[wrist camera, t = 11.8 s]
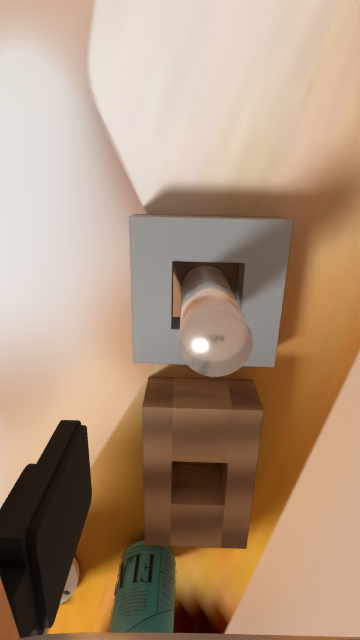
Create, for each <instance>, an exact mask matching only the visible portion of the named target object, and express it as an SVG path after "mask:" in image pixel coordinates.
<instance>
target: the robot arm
mask: <svg viewBox="0 0 360 640" xmlns="http://www.w3.org/2000/svg"><path fill="white" fill-rule="evenodd" d="M91 497H92V488H91V475H90V463H89V449H88V437H87V427H86V426H85V425H84V426H83V425H81V422H80V421H78V420H61V421H60V423H59V424H58V426H57V428H56V430H55V431H54V433H53V435H52V437H51V439H50V440H49V442H48V444H47V446H46V448H45V449H44V451H43V453H42V455H41V457H40V458H39V460H38V462H37V464H29V465H27V466H26V467H25V469H24V470H23V472H22V473H21V475H20V477H19V478H18V480H17V482H16V483H15V485H14V487H13V488H12V490H11V492H10V493H9V495H8V497H7V499H6V500H5V502H4V503H3V505H2V507H1V509H0V640H360V637H325V636H285V635H244V634H243V635H242V634H192V633H63V634H49V631H50V628H51V627H52V625H53V623H54V621H55V618H56V614H57V611H58V608H59V605H60V604H61V603H63V602H64V601H66V600H67V599H68V598H70V597H71V596H72V594H73V593H74V591H75V590H76V587H77V584H78V580H79V575H80V571H79V566H78V563H77V560H76V559H75V557H74V556H75V552H76V549H77V546H78V543H79V539H80V536H81V533H82V530H83V526H84V523H85V520H86V517H87V513H88V510H89V507H90V503H91Z"/></svg>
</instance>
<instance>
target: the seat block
mask: <svg viewBox="0 0 360 640" xmlns="http://www.w3.org/2000/svg"><path fill="white" fill-rule="evenodd" d="M129 226H130V227H129V231H130V268H131V303H132V304H131V305H132V338H133V339H132V342H133V363H149V364H180V365H187V364H186V363H185V361H184V360H183V358H182V356H181V353H180V348H179V338H180V319H181V317H173V316H172V315H173V261H189V262H227V263H239V272H238V284H237V297H236V301H237V303H238V305H239V307H240V309H241V312H242V314H243V316H244V318H245V320H246V322H247V324H248V326H249V329H250V331H251V334H252V339H253V346H252V351H251V354H250V356H249V358H248V360H247V361H246V363H245V364H244V365H243V366H250V367H274V364H275V357H276V349H277V342H278V334H279V326H280V319H281V311H282V303H283V296H284V288H285V280H286V273H287V265H288V257H289V250H290V242H291V234H292V227H293V220H290V219H285V218H268V217H228V216H187V215H147V214H134V215H131V216H129Z"/></svg>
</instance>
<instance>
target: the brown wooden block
mask: <svg viewBox="0 0 360 640" xmlns="http://www.w3.org/2000/svg"><path fill="white" fill-rule="evenodd" d="M142 410H143V468H144V526H145V545H151V546H180V547H210V548H239V549H246V547H247V539H248V531H249V523H250V515H251V507H252V499H253V491H254V483H255V475H256V467H257V459H258V451H259V443H260V435H261V427H262V419H263V408H262V405H261V402H260V399H259V397H258V394H257V391H256V388H255V385H254V383H253V380H234V379H200V378H166V377H149V378H148V383H147V388H146V393H145V397H144V402H143V407H142ZM173 461H183V462H215V463H220V466H207V465H176V464H173Z"/></svg>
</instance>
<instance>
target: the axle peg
mask: <svg viewBox="0 0 360 640" xmlns="http://www.w3.org/2000/svg"><path fill="white" fill-rule="evenodd" d="M252 346H253V339H252V334H251V331H250V329H249V326H248V324H247V322H246V320H245V318H244V316H243V314H242V312H241V309H240V307H239V305H238V303H237V301H236V299H235V297H234V295H233V292H232V290H231V288H230V286H229V284H228V282H227V280H226V278H225V276H224V274H223V273H222V272H221V271H220V270H218V269H217V268H215V267H212V266H199V267H196V268H194V269H192V270H191V271H190V272H189V273H188V274H187V275H186V277H185V278H184V281H183V284H182V299H181V319H180V338H179V348H180V353H181V356H182V358H183V360H184V361H185V363H186V364H187V365H188V366H189V367H190V368H191V369H192V370H194V371H195V372H197V373H199V374H202V375H205V376H209V377H220V376H225V375H229V374H231V373H233V372H235V371H237V370H238V369H240V368H241V367H242V366H243V365H244V364H245V363H246V361H247V360H248V358H249V356H250V354H251V351H252Z"/></svg>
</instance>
